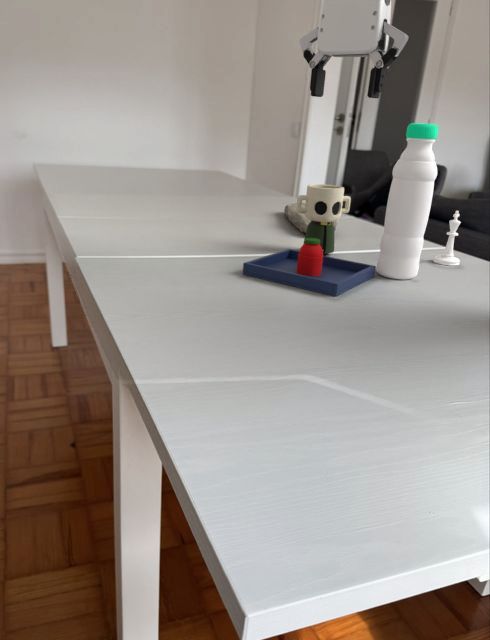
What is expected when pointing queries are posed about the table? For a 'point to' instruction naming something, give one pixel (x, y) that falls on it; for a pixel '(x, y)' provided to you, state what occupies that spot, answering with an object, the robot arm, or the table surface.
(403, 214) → the water bottle
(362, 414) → the table surface
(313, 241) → the red sauce bottle
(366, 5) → the robot arm
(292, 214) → the elongated rock
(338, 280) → the tray
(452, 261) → the chess piece
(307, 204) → the character mug
